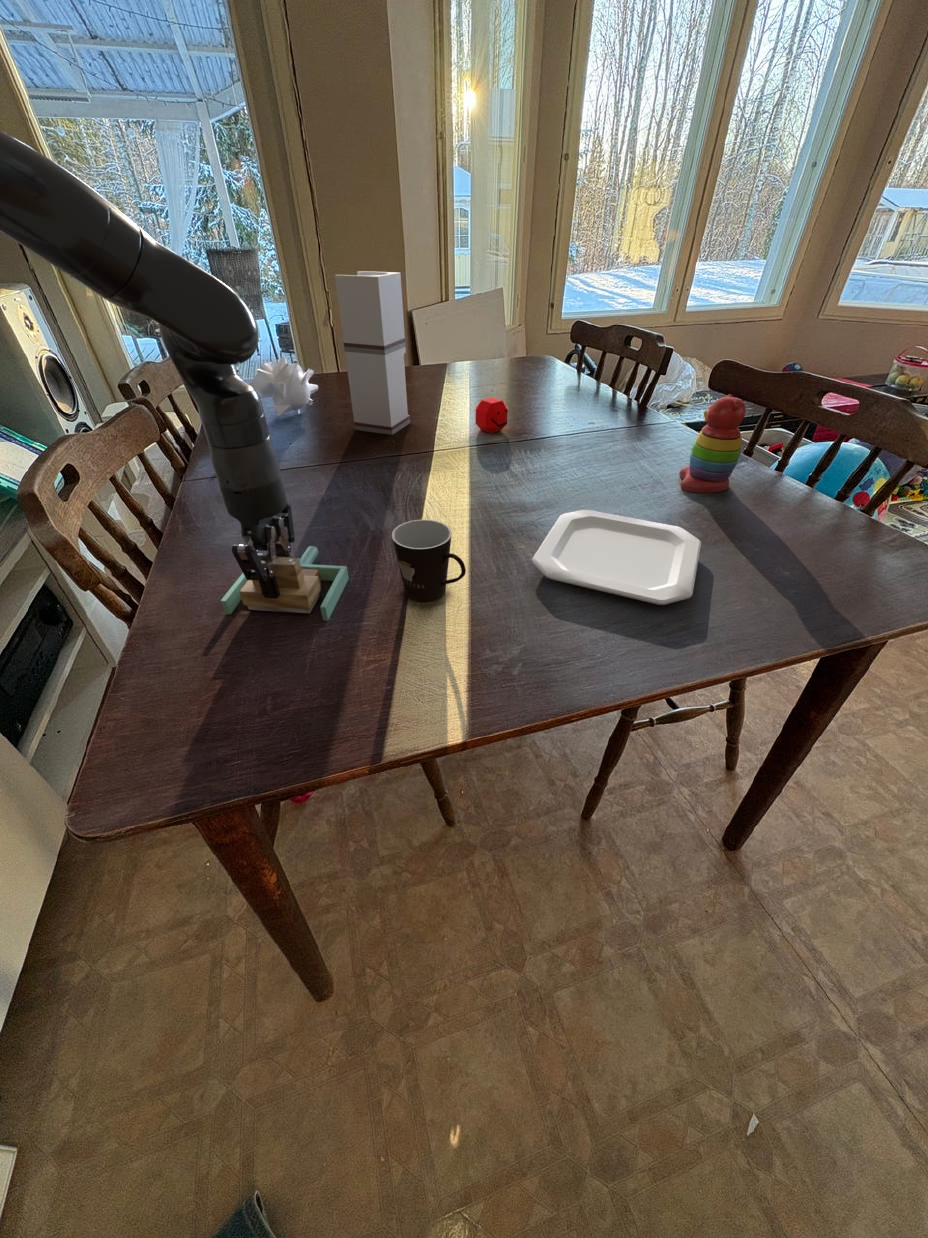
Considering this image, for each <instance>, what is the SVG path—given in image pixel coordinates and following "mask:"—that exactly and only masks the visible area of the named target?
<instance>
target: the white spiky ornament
mask: <svg viewBox="0 0 928 1238" xmlns="http://www.w3.org/2000/svg"><path fill="white" fill-rule="evenodd" d="M314 373H315V371H314V370H313V369H311V368H308V369H307V371H305V372H304V371H303V369H302V367H301V365H299V363H296V362H293V363H288V361H287V359H286V355H282V357H281V358H280V360H279V361H273V360H271V361H269V362H263V363H262V364H261V366H260V368H257V370H256V375H255V376H254V377H253V379H252V380H251V382H249V385H250V386H252V387H253V388H254V389H255V390H256V391H257V392H258V393H260V395H259V397H260V399H263V398H264V399H267V398H272V404H273V408H274V412H275V414H276V415H277V417H281V416H282V415H283V416H284V415H285V414H287V413H289V412H291V411H294V412H295V415H299V414H301V411H300V409H303V408H304V407H305V406H306V405H309V406H312V405H313V403H314V402H312V401H314V400H313V399H311V395H312V394H314V393H316V392H317V391H319V385H318V384H314V383H309V381H310V379H311V378H312V377H313V376H314ZM309 402H311V403H309ZM307 403H308V404H307Z"/></svg>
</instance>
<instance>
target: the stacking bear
mask: <svg viewBox="0 0 928 1238" xmlns="http://www.w3.org/2000/svg"><path fill="white" fill-rule="evenodd" d="M746 412H747V408H746V405H745V402H744V401H743V400H742V399H741V398H739V397H735V396H733V395H732V394H731V393H729V394H727V396H723V397H720V398H718V399H717V400H716V401H715V402H713V403H712V404H710V406H709V407H707V408H706V409H705V410H704V412H703V417H704V421H705V422H706V425H704V426H703V427H702V428H701V431H700V432H699V434H697V437H696V439H695V441H694V442H693V445H692V447H691V451H690V454H689V465H688V466H684V467H681V469H680V470H679V473H678V475H679V477H680V478H681V479H683V480H681V482H680V484H679V486H680V489H682V490H683V491H686V492H689V493H691V492H692V493H700V494H709V493H719V492H723V491H726V490H727V489H728V488H729V485H730V477H731V475H732V473H733V472H734V469H735V468H736V467H737V465H738V463H739V459H740V456H741V452H742V443H743V437H742V433H741V430H740V428H739V426H740V425H741V423H742V422H743V420H744V419H745V416H746Z"/></svg>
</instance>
